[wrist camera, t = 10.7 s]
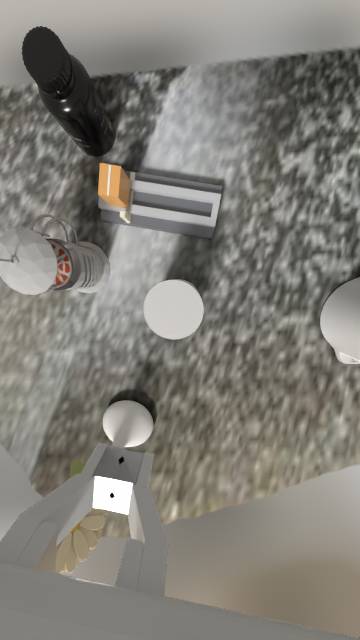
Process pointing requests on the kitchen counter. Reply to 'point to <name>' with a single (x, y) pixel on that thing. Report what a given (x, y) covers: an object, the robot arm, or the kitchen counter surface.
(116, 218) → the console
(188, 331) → the light grey cylinder
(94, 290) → the french press
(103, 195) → the fader
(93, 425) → the kitchen counter surface
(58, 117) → the supplement bottle
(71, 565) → the flower in vase
